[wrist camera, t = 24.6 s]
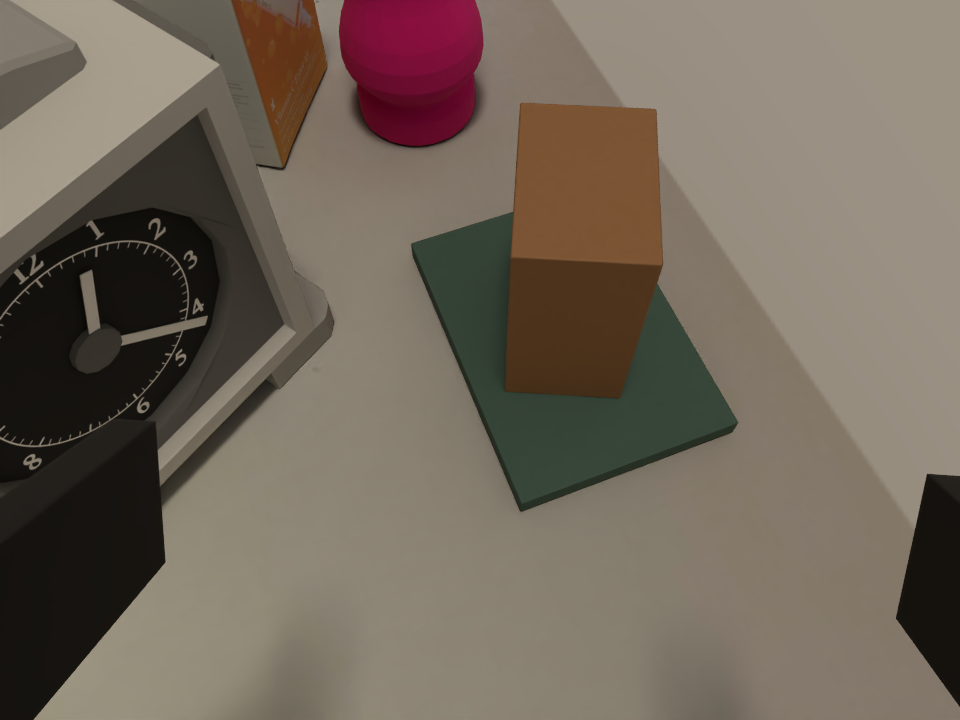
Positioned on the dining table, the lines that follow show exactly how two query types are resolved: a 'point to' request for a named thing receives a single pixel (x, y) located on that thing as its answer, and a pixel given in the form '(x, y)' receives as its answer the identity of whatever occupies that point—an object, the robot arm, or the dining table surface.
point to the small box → (259, 62)
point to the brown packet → (582, 247)
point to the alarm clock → (131, 238)
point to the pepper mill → (413, 65)
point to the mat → (564, 418)
